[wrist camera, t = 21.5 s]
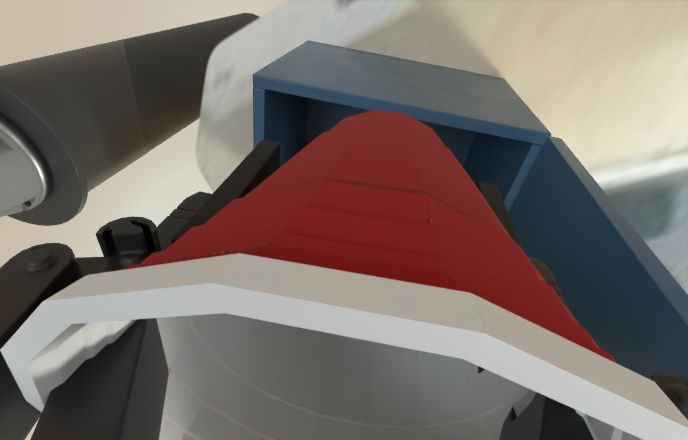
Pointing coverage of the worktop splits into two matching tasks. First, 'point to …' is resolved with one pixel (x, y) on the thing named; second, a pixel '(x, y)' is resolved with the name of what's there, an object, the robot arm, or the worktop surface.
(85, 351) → the plastic cup
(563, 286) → the lid
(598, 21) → the worktop surface
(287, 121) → the blue hollow box
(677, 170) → the worktop surface
